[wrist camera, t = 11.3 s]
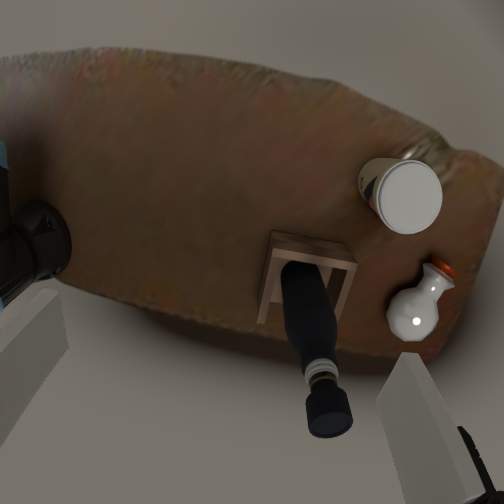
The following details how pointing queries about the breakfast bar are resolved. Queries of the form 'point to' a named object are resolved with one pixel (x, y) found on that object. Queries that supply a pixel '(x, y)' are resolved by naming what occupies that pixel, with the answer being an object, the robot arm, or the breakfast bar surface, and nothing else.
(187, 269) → the breakfast bar surface
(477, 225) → the breakfast bar surface
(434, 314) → the potion bottle
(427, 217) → the coffee cup
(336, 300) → the u rest
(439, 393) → the robot arm
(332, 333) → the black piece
